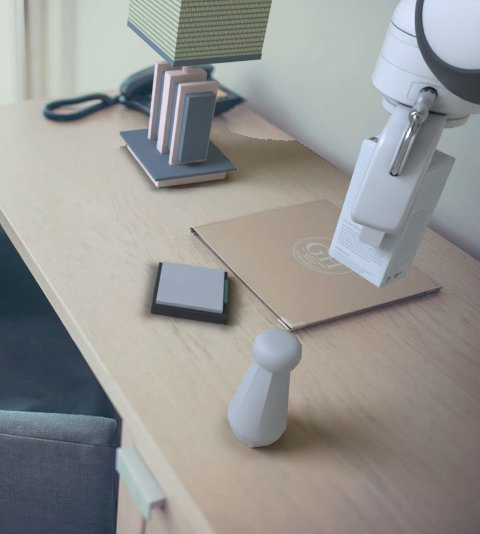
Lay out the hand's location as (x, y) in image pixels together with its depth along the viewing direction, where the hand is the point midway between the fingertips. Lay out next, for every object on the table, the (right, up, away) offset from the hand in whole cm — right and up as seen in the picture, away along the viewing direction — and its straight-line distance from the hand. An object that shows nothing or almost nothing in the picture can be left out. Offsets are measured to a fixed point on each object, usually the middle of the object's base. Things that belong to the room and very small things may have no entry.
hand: (378, 221), depth 56 cm
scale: (-12, -8, +25) cm, 29 cm away
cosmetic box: (0, -4, +3) cm, 5 cm away
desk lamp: (-10, +14, +53) cm, 55 cm away
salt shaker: (-9, -21, +9) cm, 24 cm away
